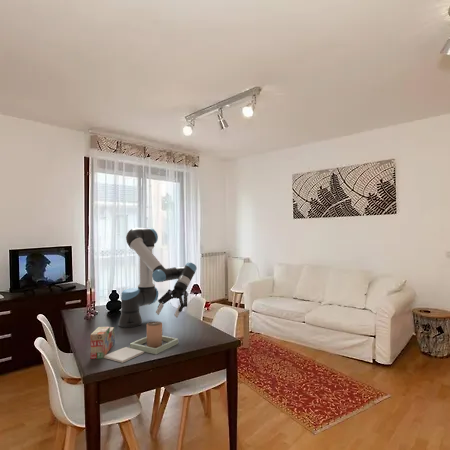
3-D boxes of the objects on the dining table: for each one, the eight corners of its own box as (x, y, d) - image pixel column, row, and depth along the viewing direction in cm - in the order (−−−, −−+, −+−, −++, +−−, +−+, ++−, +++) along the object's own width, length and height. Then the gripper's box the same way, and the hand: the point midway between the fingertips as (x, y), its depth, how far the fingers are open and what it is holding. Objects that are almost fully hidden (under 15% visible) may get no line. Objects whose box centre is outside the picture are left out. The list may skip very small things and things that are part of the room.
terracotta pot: (143, 346, 177) (143, 324, 178) (154, 342, 185) (153, 320, 185) (155, 349, 173) (155, 326, 173) (165, 344, 180) (165, 322, 181)
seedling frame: (129, 348, 176) (129, 343, 176) (153, 338, 191) (153, 333, 192) (155, 354, 166) (155, 349, 166) (178, 343, 182) (178, 338, 182)
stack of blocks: (103, 344, 183) (103, 321, 183) (114, 343, 183) (114, 321, 183) (90, 359, 161) (90, 334, 161) (103, 358, 162) (103, 333, 162)
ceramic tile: (104, 357, 162) (104, 355, 162) (125, 348, 175) (125, 346, 175) (122, 362, 156) (122, 360, 156) (143, 353, 168) (143, 351, 168)
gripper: (163, 279, 205) (146, 308, 191) (196, 282, 192) (180, 313, 179) (168, 286, 209) (152, 315, 196) (201, 290, 197) (186, 321, 184)
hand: (166, 315), depth 187 cm, fingers open, 13 cm apart
